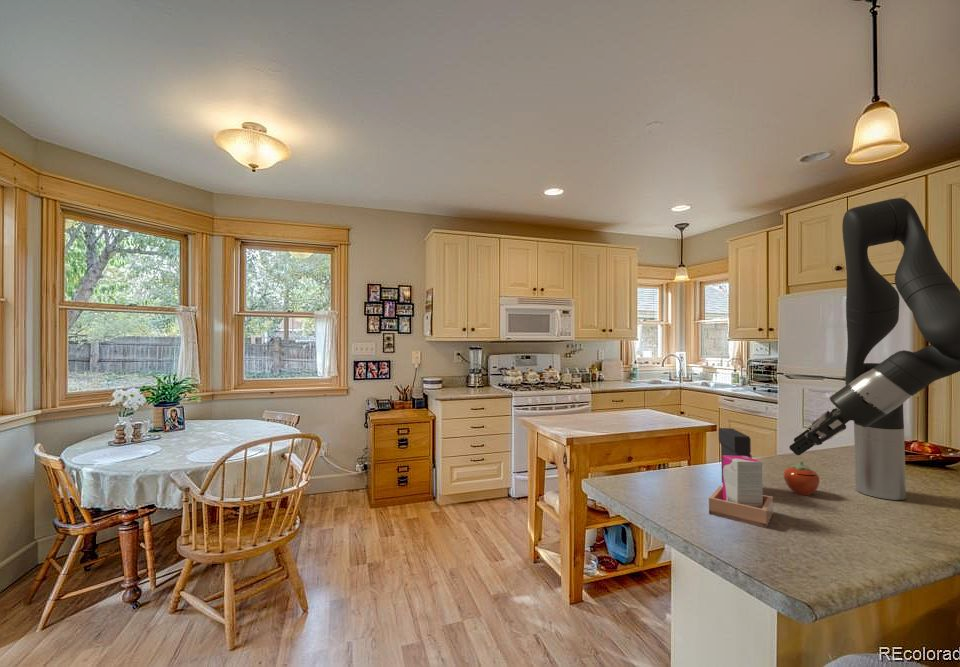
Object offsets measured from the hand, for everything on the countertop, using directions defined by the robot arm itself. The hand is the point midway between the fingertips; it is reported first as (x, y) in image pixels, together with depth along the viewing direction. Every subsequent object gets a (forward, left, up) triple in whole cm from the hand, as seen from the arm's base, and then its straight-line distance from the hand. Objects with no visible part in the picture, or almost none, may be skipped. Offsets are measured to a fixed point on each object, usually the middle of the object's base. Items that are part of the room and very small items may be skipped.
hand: (795, 447), depth 86 cm
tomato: (-26, -1, -17) cm, 31 cm away
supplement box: (0, -10, -16) cm, 18 cm away
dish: (0, -10, -16) cm, 19 cm away
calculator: (-17, -14, -17) cm, 27 cm away
